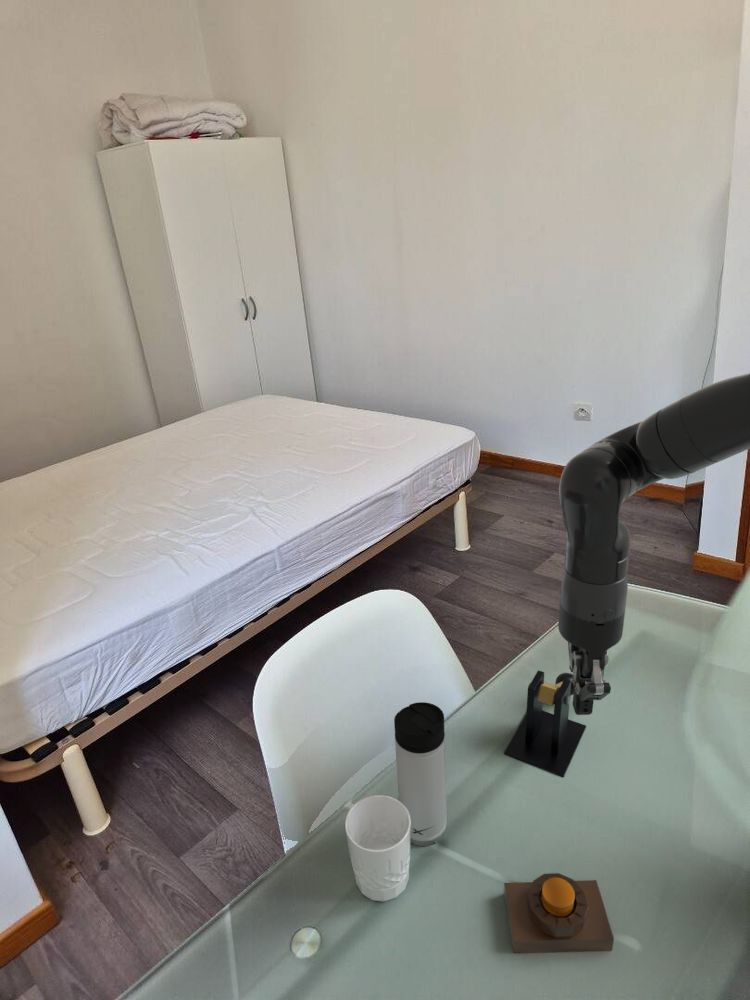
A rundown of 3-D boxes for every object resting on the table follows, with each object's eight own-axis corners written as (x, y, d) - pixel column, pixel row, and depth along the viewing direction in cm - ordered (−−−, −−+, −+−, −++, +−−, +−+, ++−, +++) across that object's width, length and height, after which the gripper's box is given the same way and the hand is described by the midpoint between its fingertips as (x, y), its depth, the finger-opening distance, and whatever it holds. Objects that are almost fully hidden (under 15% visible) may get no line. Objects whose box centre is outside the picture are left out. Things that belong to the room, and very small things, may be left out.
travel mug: (424, 858, 88) (419, 743, 80) (390, 825, 93) (382, 713, 84) (458, 829, 92) (457, 716, 83) (424, 799, 97) (420, 689, 88)
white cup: (360, 915, 82) (354, 860, 78) (344, 858, 89) (338, 804, 85) (422, 895, 84) (419, 839, 80) (402, 841, 91) (398, 787, 86)
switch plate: (594, 891, 83) (597, 869, 81) (612, 951, 77) (615, 929, 75) (503, 894, 84) (504, 872, 82) (513, 953, 77) (514, 931, 75)
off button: (569, 886, 80) (570, 876, 79) (577, 916, 77) (578, 906, 76) (538, 887, 80) (539, 877, 80) (545, 917, 77) (545, 907, 76)
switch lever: (556, 690, 112) (561, 668, 112) (578, 697, 110) (583, 675, 110) (531, 703, 100) (536, 679, 100) (556, 711, 98) (561, 686, 98)
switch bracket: (529, 711, 111) (532, 653, 105) (585, 731, 106) (591, 671, 101) (503, 758, 102) (505, 697, 97) (563, 781, 98) (568, 719, 93)
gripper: (550, 572, 88) (543, 677, 96) (573, 635, 76) (563, 750, 84) (609, 570, 88) (598, 676, 95) (641, 633, 76) (626, 749, 84)
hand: (582, 710), depth 90 cm, fingers closed
